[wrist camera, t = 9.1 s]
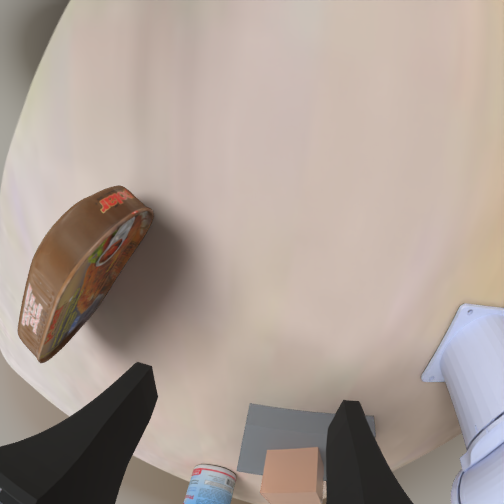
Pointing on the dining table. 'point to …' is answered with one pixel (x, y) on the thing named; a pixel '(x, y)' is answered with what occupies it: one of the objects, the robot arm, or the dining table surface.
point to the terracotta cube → (293, 476)
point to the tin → (79, 267)
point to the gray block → (283, 434)
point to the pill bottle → (210, 485)
